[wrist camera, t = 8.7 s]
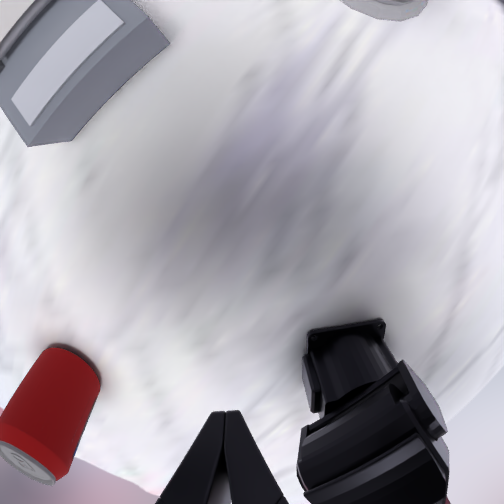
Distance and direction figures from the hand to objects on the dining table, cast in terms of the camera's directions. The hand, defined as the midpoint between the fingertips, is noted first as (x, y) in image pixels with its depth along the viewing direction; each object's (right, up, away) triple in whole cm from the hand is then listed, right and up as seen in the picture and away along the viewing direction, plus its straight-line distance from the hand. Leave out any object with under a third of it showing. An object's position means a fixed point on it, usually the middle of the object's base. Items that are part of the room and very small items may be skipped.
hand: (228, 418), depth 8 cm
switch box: (-10, +18, +6) cm, 22 cm away
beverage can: (-16, -6, +16) cm, 24 cm away
